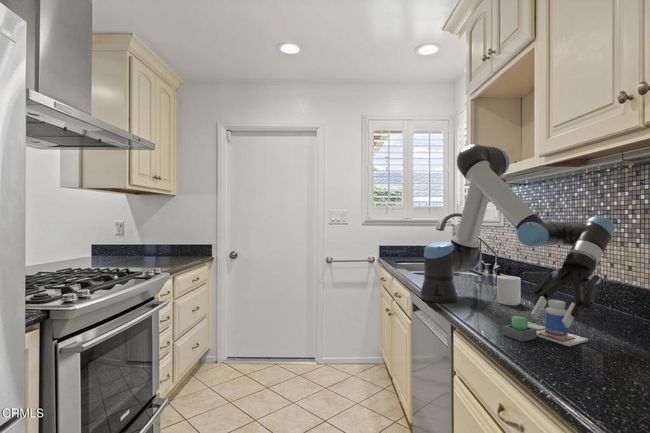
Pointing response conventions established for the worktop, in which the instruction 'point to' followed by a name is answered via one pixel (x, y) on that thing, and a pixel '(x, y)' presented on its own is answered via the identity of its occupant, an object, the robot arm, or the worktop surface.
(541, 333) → the white rectangular board
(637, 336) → the worktop surface
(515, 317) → the button
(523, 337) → the button frame
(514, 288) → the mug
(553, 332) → the pill bottle
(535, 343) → the worktop surface
